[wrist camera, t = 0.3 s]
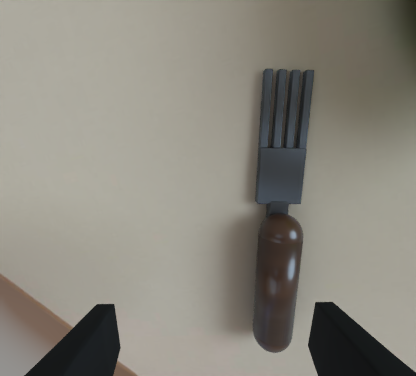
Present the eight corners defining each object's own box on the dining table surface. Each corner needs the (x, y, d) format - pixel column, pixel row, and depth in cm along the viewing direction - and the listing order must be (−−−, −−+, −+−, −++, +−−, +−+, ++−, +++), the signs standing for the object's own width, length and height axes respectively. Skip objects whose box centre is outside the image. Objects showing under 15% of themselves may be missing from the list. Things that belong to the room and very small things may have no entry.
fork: (284, 329, 20) (298, 362, 17) (247, 330, 20) (254, 363, 17) (310, 72, 16) (335, 58, 13) (262, 71, 16) (277, 56, 13)
